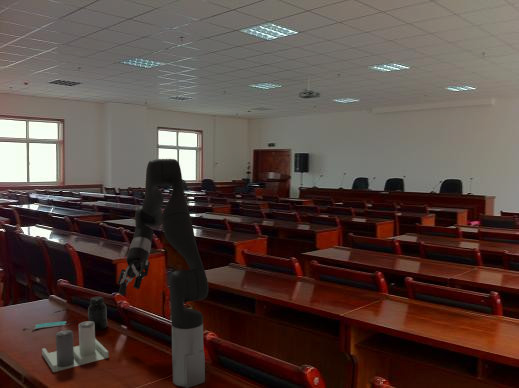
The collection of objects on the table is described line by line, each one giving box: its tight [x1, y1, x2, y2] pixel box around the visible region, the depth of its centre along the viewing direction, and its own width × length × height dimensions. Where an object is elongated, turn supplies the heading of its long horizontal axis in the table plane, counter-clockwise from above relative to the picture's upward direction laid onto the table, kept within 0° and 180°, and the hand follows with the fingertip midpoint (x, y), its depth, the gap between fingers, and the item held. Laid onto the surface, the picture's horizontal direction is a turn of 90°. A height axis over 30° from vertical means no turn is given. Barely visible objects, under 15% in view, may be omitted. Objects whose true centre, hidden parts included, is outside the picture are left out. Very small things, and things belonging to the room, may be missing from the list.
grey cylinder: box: [55, 329, 74, 367], centre depth 144 cm, size 5×5×10 cm
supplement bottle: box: [87, 296, 108, 332], centre depth 178 cm, size 7×7×12 cm
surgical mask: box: [22, 308, 79, 332], centre depth 181 cm, size 21×4×10 cm
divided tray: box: [41, 338, 110, 373], centre depth 150 cm, size 16×17×3 cm
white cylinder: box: [78, 320, 96, 356], centre depth 152 cm, size 5×5×10 cm
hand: (128, 291), depth 159 cm, fingers open, 8 cm apart
